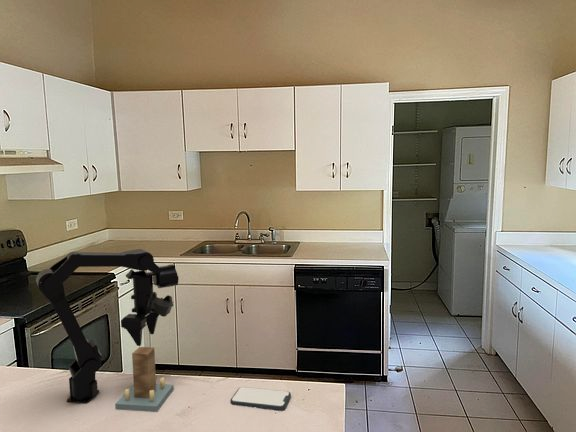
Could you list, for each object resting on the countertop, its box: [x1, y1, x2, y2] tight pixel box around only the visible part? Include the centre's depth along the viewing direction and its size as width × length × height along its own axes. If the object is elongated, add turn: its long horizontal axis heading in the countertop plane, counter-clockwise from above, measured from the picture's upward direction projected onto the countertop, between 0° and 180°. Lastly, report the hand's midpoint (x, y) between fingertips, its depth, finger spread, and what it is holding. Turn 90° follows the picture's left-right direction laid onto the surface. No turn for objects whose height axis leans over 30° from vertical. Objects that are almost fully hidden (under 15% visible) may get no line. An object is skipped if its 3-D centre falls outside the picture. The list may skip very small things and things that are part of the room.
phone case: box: [229, 386, 292, 412], centre depth 125 cm, size 9×2×16 cm
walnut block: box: [131, 346, 157, 398], centre depth 125 cm, size 4×4×13 cm
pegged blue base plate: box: [114, 377, 175, 413], centre depth 126 cm, size 12×12×4 cm
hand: (145, 339), depth 136 cm, fingers open, 9 cm apart
